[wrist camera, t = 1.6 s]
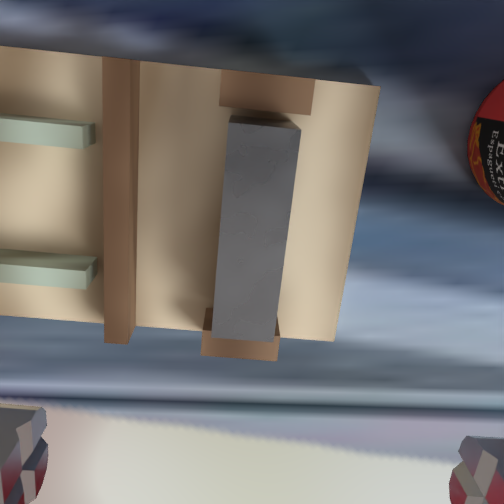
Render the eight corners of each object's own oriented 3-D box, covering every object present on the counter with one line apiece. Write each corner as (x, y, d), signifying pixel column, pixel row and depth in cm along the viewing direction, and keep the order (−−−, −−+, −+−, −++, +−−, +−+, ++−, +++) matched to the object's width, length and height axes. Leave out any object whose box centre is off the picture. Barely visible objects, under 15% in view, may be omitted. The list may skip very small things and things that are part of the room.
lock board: (374, 86, 24) (396, 87, 20) (330, 331, 29) (342, 366, 25) (-122, 32, 23) (-188, 25, 19) (-81, 298, 27) (-128, 330, 24)
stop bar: (230, 115, 23) (228, 122, 19) (292, 121, 23) (301, 129, 19) (215, 300, 26) (211, 337, 23) (269, 304, 27) (273, 342, 23)
